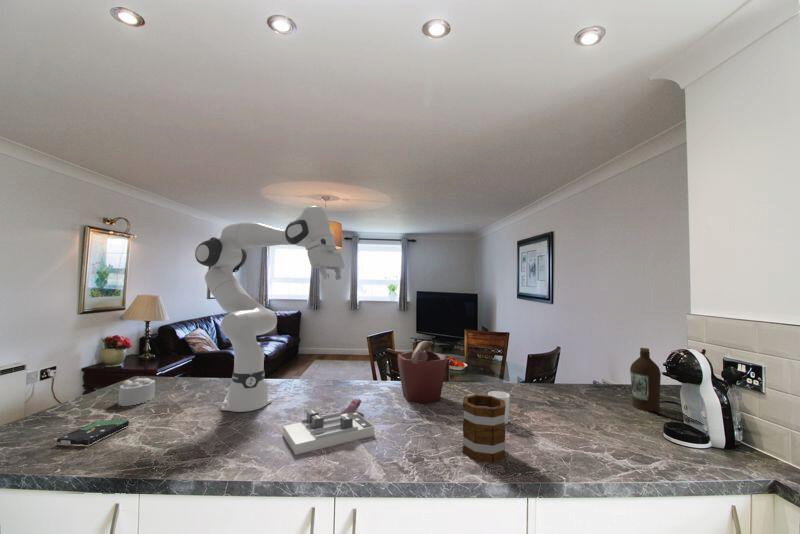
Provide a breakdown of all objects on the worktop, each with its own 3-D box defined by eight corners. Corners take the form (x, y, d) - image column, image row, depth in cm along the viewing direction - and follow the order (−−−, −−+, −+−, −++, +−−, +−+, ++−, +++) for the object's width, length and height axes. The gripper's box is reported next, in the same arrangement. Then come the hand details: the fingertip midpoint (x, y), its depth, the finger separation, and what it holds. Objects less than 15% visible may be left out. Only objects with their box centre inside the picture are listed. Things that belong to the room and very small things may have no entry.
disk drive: (89, 449, 102) (129, 427, 117) (89, 439, 102) (129, 419, 117) (55, 448, 102) (99, 427, 117) (55, 438, 102) (100, 418, 117)
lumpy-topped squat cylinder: (157, 396, 148) (159, 376, 148) (139, 406, 135) (140, 384, 136) (131, 396, 147) (133, 376, 147) (110, 407, 134) (111, 385, 134)
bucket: (417, 387, 168) (418, 336, 169) (458, 396, 155) (459, 341, 157) (387, 400, 148) (388, 342, 150) (431, 411, 135) (432, 348, 137)
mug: (515, 461, 98) (515, 408, 99) (470, 464, 96) (470, 410, 97) (487, 432, 117) (487, 388, 118) (449, 434, 115) (450, 389, 116)
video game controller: (348, 424, 126) (357, 407, 126) (338, 417, 127) (346, 400, 127) (357, 414, 136) (365, 398, 135) (347, 408, 136) (355, 392, 136)
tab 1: (306, 421, 115) (307, 411, 115) (315, 419, 117) (315, 409, 117) (309, 424, 113) (309, 414, 113) (318, 422, 114) (318, 412, 114)
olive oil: (640, 402, 152) (639, 345, 153) (667, 410, 142) (665, 349, 143) (625, 405, 148) (624, 346, 149) (651, 413, 138) (649, 351, 139)
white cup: (511, 419, 129) (511, 392, 129) (508, 427, 122) (508, 399, 122) (489, 416, 132) (490, 389, 133) (486, 423, 125) (486, 395, 126)
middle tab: (311, 426, 111) (311, 416, 111) (320, 425, 113) (320, 414, 113) (314, 430, 108) (314, 419, 109) (323, 428, 110) (323, 417, 110)
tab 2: (340, 427, 111) (340, 416, 111) (348, 425, 113) (349, 414, 113) (343, 430, 109) (344, 419, 109) (352, 428, 110) (352, 417, 110)
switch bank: (283, 435, 112) (283, 422, 112) (355, 419, 126) (355, 408, 126) (295, 454, 99) (295, 440, 99) (374, 435, 113) (374, 423, 113)
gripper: (330, 250, 142) (338, 282, 140) (301, 245, 123) (311, 281, 121) (343, 245, 140) (352, 277, 138) (316, 239, 121) (326, 275, 119)
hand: (333, 279), depth 129 cm, fingers open, 8 cm apart
